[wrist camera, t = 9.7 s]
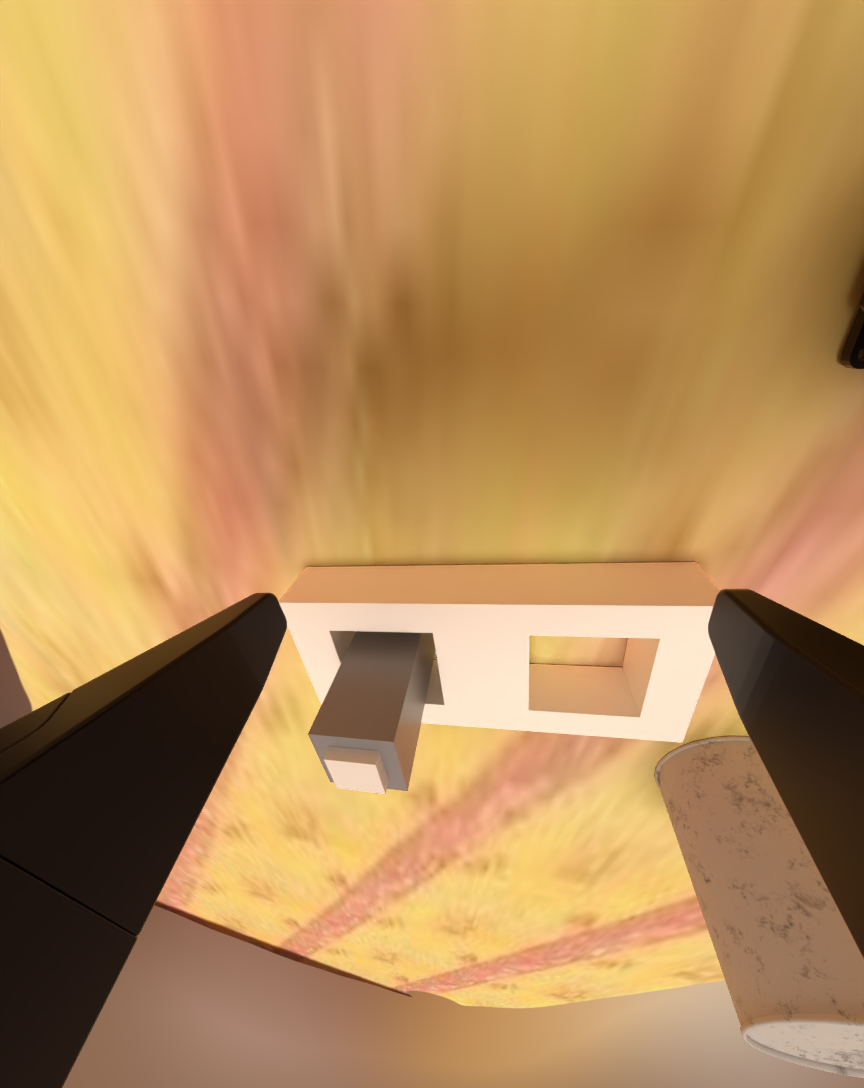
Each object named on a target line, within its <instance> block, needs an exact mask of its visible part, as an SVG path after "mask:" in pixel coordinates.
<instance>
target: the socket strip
mask: <svg viewBox="0 0 864 1088" xmlns="http://www.w3.org/2000/svg"><path fill="white" fill-rule="evenodd" d="M719 591H720V590H719V589H718V588H717V587H716V586H715V584H714V583H713V582H712V581H711V579H710V578H709V577H708V576H707V575H706V573H705V572H704V571H703V570H702V568H701V567H700V566H699V565H698V564H697V562H649V563H572V564H494V565H417V566H340V567H306V568H305V569H304V570H303V572H302V573H301V574H300V575H299V577H298V578H297V579H296V580H295V582H294V583H293V584H292V585H291V587H290V588H289V589H288V590H287V592H286V593H285V594H284V595H283V597H282V598H281V599H280V600H279V604H280V606H281V608H282V610H283V613H284V615H285V617H286V620H287V625H288V628H289V630H290V633H291V635H292V637H293V640H294V642H295V644H296V647H297V649H298V651H299V654H300V656H301V658H302V661H303V663H304V665H305V668H306V670H307V672H308V675H309V677H310V680H311V682H312V684H313V687H314V689H315V691H316V694H317V696H318V698H319V701H320V703H321V705H322V703H323V701H324V699H325V697H326V695H327V693H328V690H329V688H330V686H331V684H332V682H333V680H334V678H335V676H336V673H337V671H338V669H339V667H340V665H341V663H342V661H343V658H344V656H345V654H346V652H347V650H348V648H349V646H350V643H351V641H352V639H353V637H354V635H355V633H356V631H370V632H410V633H433V637H434V643H435V649H436V655H437V660H433V665H432V670H431V675H430V680H429V685H428V690H427V695H426V700H425V705H424V710H423V715H422V720H421V723H428V724H442V725H455V726H468V727H482V728H495V729H508V730H522V731H535V732H548V733H562V734H575V735H588V736H602V737H615V738H629V739H642V740H655V741H669V742H683V739H684V737H685V734H686V731H687V729H688V726H689V723H690V720H691V718H692V715H693V712H694V710H695V707H696V704H697V701H698V699H699V696H700V693H701V691H702V688H703V685H704V683H705V680H706V677H707V674H708V672H709V669H710V666H711V664H712V661H713V658H714V655H715V651H714V648H713V646H712V643H711V640H710V638H709V634H708V623H709V619H710V616H711V612H712V609H713V606H714V602H715V599H716V596H717V594H718V593H719ZM530 635H532V636H573V637H613V638H628V641H627V646H626V651H625V656H624V661H623V666H622V667H599V666H574V665H549V664H529V639H530Z"/></svg>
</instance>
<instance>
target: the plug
mask: <svg viewBox="0 0 864 1088" xmlns="http://www.w3.org/2000/svg"><path fill="white" fill-rule="evenodd" d="M434 655H435V643H434V637H433V633H410V632H370V631H356V633H355V635H354V637H353V639H352V641H351V643H350V646H349V648H348V650H347V652H346V654H345V656H344V658H343V661H342V663H341V665H340V667H339V669H338V671H337V673H336V676H335V678H334V680H333V682H332V684H331V686H330V688H329V690H328V693H327V695H326V697H325V699H324V701H323V703H322V705H321V708H320V710H319V712H318V714H317V716H316V718H315V720H314V723H313V725H312V727H311V729H310V731H309V733H308V735H309V737H310V739H311V742H312V744H313V746H314V748H315V750H316V752H317V754H318V756H319V759H320V761H321V763H322V765H323V767H324V769H325V771H326V773H327V776H328V778H329V780H330V782H334V783H335V785H336V787H337V788H340V789H348V790H356V791H364V792H373V793H381V794H385V793H386V789H395V790H403V791H408V786H409V781H410V776H411V771H412V766H413V761H414V756H415V751H416V746H417V741H418V736H419V731H420V725H421V720H422V715H423V710H424V705H425V700H426V695H427V690H428V685H429V680H430V675H431V670H432V665H433V660H434Z"/></svg>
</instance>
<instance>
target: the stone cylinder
mask: <svg viewBox="0 0 864 1088" xmlns="http://www.w3.org/2000/svg"><path fill="white" fill-rule="evenodd" d="M655 779H656V782H657V785H658V787H659V788H660V790H661V793H662V796H663V799H664V802H665V805H666V808H667V811H668V814H669V817H670V820H671V822H672V825H673V828H674V831H675V834H676V837H677V840H678V843H679V846H680V849H681V852H682V855H683V858H684V860H685V863H686V866H687V869H688V872H689V875H690V878H691V881H692V884H693V887H694V890H695V893H696V896H697V898H698V901H699V904H700V907H701V910H702V913H703V916H704V919H705V922H706V925H707V928H708V931H709V934H710V937H711V939H712V942H713V945H714V948H715V951H716V954H717V957H718V960H719V963H720V966H721V969H722V972H723V975H724V977H725V980H726V983H727V986H728V989H729V992H730V995H731V998H732V1001H733V1004H734V1007H735V1010H736V1013H737V1015H738V1018H739V1021H740V1024H741V1027H740V1029H741V1033H742V1036H743V1039H744V1040H745V1041H746V1042H747V1043H748V1044H749V1045H750V1046H752V1047H754V1048H756V1049H758V1050H760V1051H761V1052H763V1053H766V1054H769V1055H771V1056H774V1057H776V1058H779V1059H782V1060H786V1061H789V1062H792V1063H795V1064H799V1065H803V1066H807V1067H811V1068H815V1069H819V1070H823V1071H829V1072H833V1073H838V1074H843V1075H849V1076H855V1077H861V1078H864V958H863V957H862V955H861V953H860V951H859V949H858V947H857V945H856V943H855V941H854V939H853V937H852V935H851V933H850V931H849V929H848V927H847V925H846V923H845V921H844V920H843V918H842V916H841V914H840V912H839V910H838V908H837V906H836V904H835V902H834V900H833V898H832V896H831V894H830V892H829V890H828V888H827V886H826V885H825V883H824V881H823V879H822V877H821V875H820V873H819V871H818V869H817V867H816V865H815V863H814V861H813V859H812V857H811V855H810V853H809V851H808V849H807V848H806V846H805V844H804V842H803V840H802V838H801V836H800V834H799V832H798V830H797V828H796V826H795V824H794V822H793V820H792V818H791V816H790V814H789V813H788V811H787V809H786V807H785V805H784V803H783V801H782V799H781V797H780V795H779V793H778V791H777V789H776V787H775V785H774V783H773V781H772V779H771V777H770V776H769V774H768V772H767V770H766V768H765V766H764V764H763V762H762V760H761V758H760V756H759V754H758V752H757V750H756V748H755V746H754V744H753V742H752V741H751V739H750V737H749V736H723V737H712V738H707V739H702V740H697V741H694V742H691V743H688V744H685V745H682V746H680V747H678V748H676V749H674V750H673V751H671V752H669V753H668V754H667V755H665V756H664V757H663V758H662V759H661V760H660V761H659V763H658V765H657V766H656V770H655Z"/></svg>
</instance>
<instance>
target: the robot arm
mask: <svg viewBox="0 0 864 1088" xmlns="http://www.w3.org/2000/svg"><path fill="white" fill-rule="evenodd" d="M862 349H864V294H863V297H862V299H861V302H860V309H859V311H858V314H857V316H856V319H855V321H854V324H853V327H852V329H851V332H850V334H849V337H848V339H847V342H846V345H845V347H844V350H843V352H842V355H841V362H842V365H844V366H845V367H848V368H856V369H864V356H863V357H862V358H860V359H858V354H859V353H860V351H861V350H862ZM286 628H287V620H286V617H285V615H284V613H283V610H282V608H281V606H280V604H279V602H278V600H277V598H276V596H275V595H274V594H272V593H255V594H253V595H251V596H249V597H247V598H245V599H243V600H241V601H239V602H238V603H236V604H234V605H232V606H230V607H228V608H226V609H224V610H223V611H221V612H219V613H217V614H215V615H213V616H211V617H209V618H208V619H206V620H204V621H202V622H200V623H198V624H196V625H194V626H193V627H191V628H189V629H187V630H185V631H183V632H181V633H179V634H178V635H176V636H174V637H172V638H170V639H168V640H166V641H164V642H163V643H161V644H159V645H157V646H155V647H153V648H151V649H149V650H148V651H146V652H144V653H142V654H140V655H138V656H136V657H134V658H133V659H131V660H129V661H127V662H125V663H123V664H121V665H119V666H118V667H116V668H114V669H112V670H110V671H108V672H106V673H104V674H103V675H101V676H99V677H97V678H95V679H93V680H91V681H89V682H88V683H86V684H84V685H82V686H80V687H78V688H76V689H74V690H73V691H72V693H67V694H65V695H63V696H61V697H59V698H57V699H56V700H54V701H52V702H50V703H48V704H46V705H44V706H42V707H40V708H39V709H37V710H35V711H33V712H31V713H29V714H27V715H25V716H23V717H21V718H19V719H17V720H16V721H14V722H12V723H10V724H8V725H6V726H4V727H2V728H0V1088H62V1087H63V1085H64V1083H65V1081H66V1079H67V1077H68V1075H69V1073H70V1072H71V1070H72V1067H73V1066H74V1063H75V1062H76V1060H77V1057H78V1056H79V1054H80V1052H81V1050H82V1048H83V1046H84V1044H85V1042H86V1040H87V1038H88V1036H89V1034H90V1032H91V1030H92V1028H93V1026H94V1024H95V1022H96V1020H97V1018H98V1016H99V1014H100V1012H101V1010H102V1008H103V1006H104V1004H105V1002H106V1000H107V998H108V996H109V994H110V992H111V990H112V988H113V986H114V984H115V982H116V980H117V978H118V976H119V974H120V972H121V970H122V968H123V966H124V964H125V962H126V960H127V958H128V956H129V954H130V952H131V950H132V948H133V946H134V944H135V942H136V941H137V938H138V937H137V935H139V933H140V932H141V930H142V928H143V925H144V924H145V922H146V920H147V918H148V916H149V914H150V912H151V910H152V908H153V906H154V904H155V902H156V900H157V898H158V896H159V894H160V892H161V890H162V888H163V886H164V884H165V882H166V880H167V878H168V876H169V874H170V872H171V870H172V868H173V866H174V864H175V862H176V860H177V858H178V856H179V855H180V853H181V851H182V849H183V847H184V845H185V843H186V841H187V839H188V837H189V835H190V833H191V831H192V829H193V827H194V825H195V823H196V821H197V819H198V817H199V815H200V813H201V811H202V809H203V807H204V805H205V803H206V801H207V799H208V797H209V795H210V793H211V791H212V789H213V787H214V785H215V783H216V781H217V779H218V777H219V775H220V773H221V771H222V769H223V767H224V765H225V763H226V761H227V759H228V757H229V755H230V753H231V751H232V749H233V747H234V745H235V744H236V742H237V740H238V738H239V736H240V734H241V732H242V730H243V728H244V726H245V724H246V722H247V720H248V718H249V716H250V714H251V712H252V710H253V708H254V706H255V704H256V702H257V700H258V698H259V696H260V694H261V692H262V689H263V687H264V685H265V682H266V680H267V677H268V675H269V672H270V670H271V667H272V665H273V662H274V660H275V657H276V655H277V652H278V649H279V647H280V644H281V642H282V639H283V637H284V634H285V632H286ZM708 634H709V638H710V640H711V643H712V646H713V648H714V651H715V654H716V656H717V659H718V662H719V664H720V667H721V669H722V672H723V675H724V677H725V680H726V683H727V685H728V688H729V691H730V693H731V696H732V699H733V701H734V704H735V706H736V709H737V711H738V714H739V716H740V718H741V720H742V722H743V724H744V727H745V729H746V731H747V733H748V735H749V737H750V739H751V741H752V742H753V744H754V746H755V748H756V750H757V752H758V754H759V756H760V758H761V760H762V762H763V764H764V766H765V768H766V770H767V772H768V774H769V776H770V777H771V779H772V781H773V783H774V785H775V787H776V789H777V791H778V793H779V795H780V797H781V799H782V801H783V803H784V805H785V807H786V809H787V811H788V813H789V814H790V816H791V818H792V820H793V822H794V824H795V826H796V828H797V830H798V832H799V834H800V836H801V838H802V840H803V842H804V844H805V846H806V848H807V849H808V851H809V853H810V855H811V857H812V859H813V861H814V863H815V865H816V867H817V869H818V871H819V873H820V875H821V877H822V879H823V881H824V883H825V885H826V886H827V888H828V890H829V892H830V894H831V896H832V898H833V900H834V902H835V904H836V906H837V908H838V910H839V912H840V914H841V916H842V918H843V920H844V921H845V923H846V925H847V927H848V929H849V931H850V933H851V935H852V937H853V939H854V941H855V943H856V945H857V947H858V949H859V951H860V953H861V955H862V957H863V958H864V646H863V645H861V644H859V643H857V642H855V641H853V640H851V639H849V638H847V637H845V636H843V635H841V634H839V633H837V632H835V631H833V630H831V629H829V628H827V627H825V626H823V625H821V624H819V623H817V622H815V621H813V620H811V619H809V618H807V617H805V616H803V615H801V614H799V613H797V612H795V611H793V610H791V609H789V608H787V607H785V606H783V605H781V604H779V603H776V602H774V601H772V600H770V599H768V598H766V597H764V596H762V595H760V594H758V593H756V592H754V591H752V590H749V589H723V590H721V591H719V593H718V594H717V596H716V599H715V602H714V606H713V609H712V612H711V616H710V619H709V623H708Z"/></svg>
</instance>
